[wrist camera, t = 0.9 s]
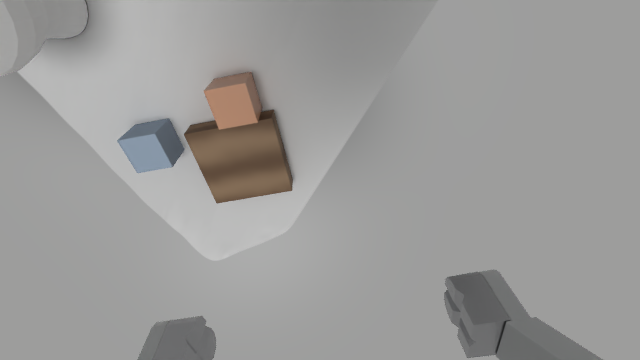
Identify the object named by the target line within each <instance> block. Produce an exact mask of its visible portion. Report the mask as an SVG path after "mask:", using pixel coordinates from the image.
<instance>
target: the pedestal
mask: <svg viewBox="0 0 640 360" xmlns="http://www.w3.org/2000/svg"><path fill="white" fill-rule="evenodd" d="M184 136H185V138H186V140H187V142H188V144H189V146H190V148H191V151H192V153H193V155H194V157H195V159H196V161H197V163H198V165H199V167H200V169H201V171H202V174H203V176H204V178H205V180H206V182H207V184H208V186H209V188H210V190H211V192H212V194H213V197H214V199H215V201H216V203H222V202H228V201H234V200H240V199H245V198H251V197H257V196H263V195H269V194H275V193H281V192H287V191H292V183H293V179H292V175H291V172H290V168H289V164H288V161H287V157H286V153H285V150H284V146H283V143H282V139H281V135H280V132H279V128H278V124H277V121H276V117H275V113H274V110H270V111H264V112H261V113H260V117H259V120H258V123H253V124H247V125H242V126H237V127H231V128H226V129H220V130H219V128H218V126H217V123H216V121H210V122H205V123H200V124H194V125H191V126H190V127H189V128H188V130H187V131H186V132H185V134H184Z"/></svg>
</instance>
